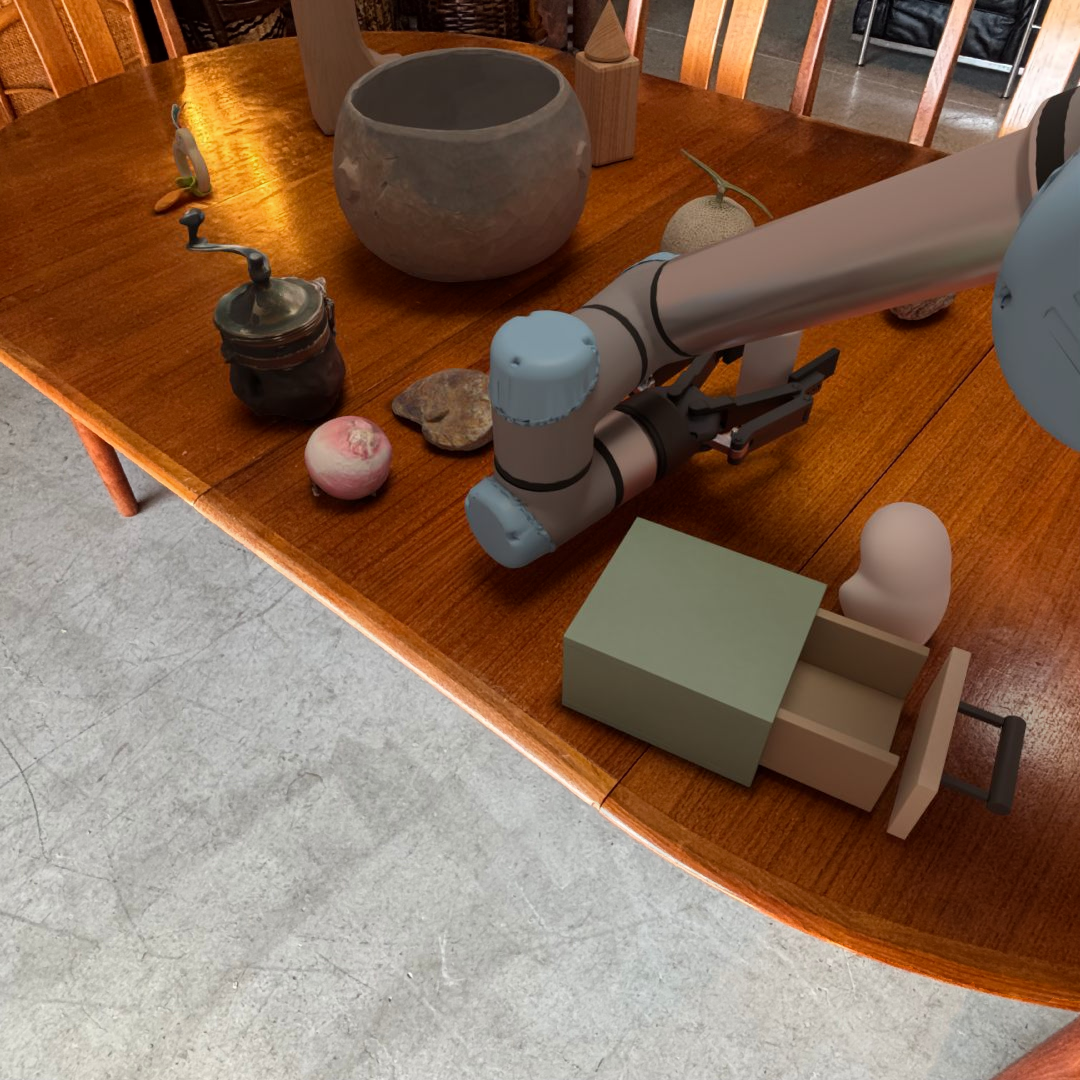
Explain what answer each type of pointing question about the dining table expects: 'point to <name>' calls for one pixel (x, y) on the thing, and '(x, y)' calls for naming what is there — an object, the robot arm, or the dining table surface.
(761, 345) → the beverage can
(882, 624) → the figurine
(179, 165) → the rattle
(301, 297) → the coffee grinder
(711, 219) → the fruit
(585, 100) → the decorative item
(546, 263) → the dining table surface
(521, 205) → the clay pot
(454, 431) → the brown rock
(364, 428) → the onion
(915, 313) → the stone
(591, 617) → the cabinet
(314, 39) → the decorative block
